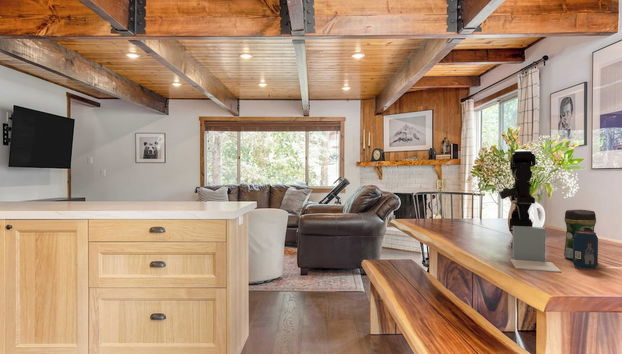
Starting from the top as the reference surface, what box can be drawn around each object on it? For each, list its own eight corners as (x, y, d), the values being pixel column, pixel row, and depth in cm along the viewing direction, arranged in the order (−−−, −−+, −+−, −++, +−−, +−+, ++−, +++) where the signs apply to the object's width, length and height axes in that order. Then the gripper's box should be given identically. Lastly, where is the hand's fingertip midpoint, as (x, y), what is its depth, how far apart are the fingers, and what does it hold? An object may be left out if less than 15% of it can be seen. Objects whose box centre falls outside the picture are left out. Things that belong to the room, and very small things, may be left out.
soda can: (582, 264, 139) (583, 230, 139) (602, 269, 132) (603, 233, 132) (567, 265, 137) (568, 231, 137) (587, 270, 130) (588, 233, 130)
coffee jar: (586, 257, 151) (586, 208, 151) (600, 262, 144) (601, 210, 143) (559, 257, 152) (560, 208, 152) (572, 261, 144) (573, 210, 144)
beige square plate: (510, 260, 144) (510, 259, 144) (551, 263, 140) (551, 262, 140) (516, 268, 131) (516, 267, 131) (561, 272, 127) (561, 271, 127)
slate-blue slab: (512, 257, 149) (512, 225, 149) (542, 260, 146) (543, 227, 146) (513, 259, 146) (514, 227, 146) (544, 262, 142) (545, 228, 142)
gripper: (497, 180, 172) (497, 216, 172) (503, 181, 154) (502, 221, 154) (526, 181, 168) (526, 218, 168) (535, 181, 150) (534, 223, 151)
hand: (521, 220), depth 160 cm, fingers closed
